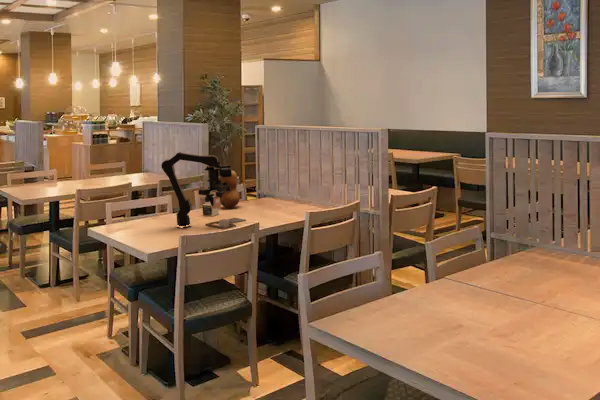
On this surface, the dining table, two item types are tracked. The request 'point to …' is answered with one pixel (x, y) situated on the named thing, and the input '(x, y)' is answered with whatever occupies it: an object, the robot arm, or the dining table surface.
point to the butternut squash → (232, 196)
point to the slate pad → (235, 220)
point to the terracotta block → (216, 203)
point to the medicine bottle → (209, 209)
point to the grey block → (223, 222)
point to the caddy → (220, 226)
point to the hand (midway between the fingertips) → (215, 205)
